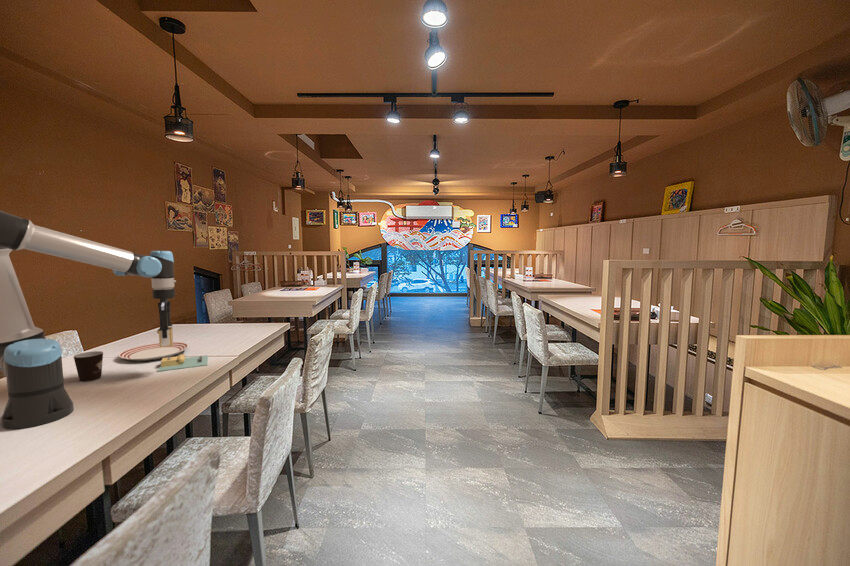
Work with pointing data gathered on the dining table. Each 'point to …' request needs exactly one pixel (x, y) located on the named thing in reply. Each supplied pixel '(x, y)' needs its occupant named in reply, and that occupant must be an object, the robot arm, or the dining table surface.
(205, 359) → the hinge base
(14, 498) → the dining table surface
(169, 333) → the yellow tan block
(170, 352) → the dinner plate
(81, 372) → the coffee mug
